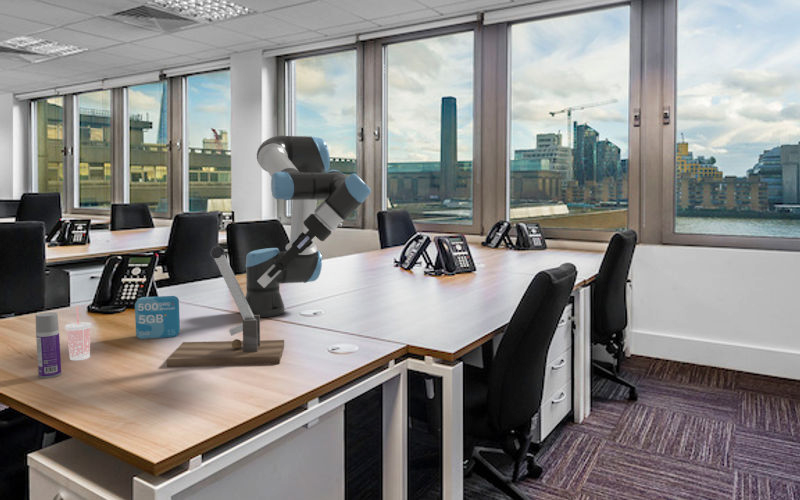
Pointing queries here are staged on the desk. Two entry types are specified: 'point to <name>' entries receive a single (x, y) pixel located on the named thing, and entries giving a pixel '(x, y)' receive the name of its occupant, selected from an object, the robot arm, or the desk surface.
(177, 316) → the data package
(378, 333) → the desk surface
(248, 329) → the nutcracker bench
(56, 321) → the container
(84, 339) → the beverage cup
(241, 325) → the lever
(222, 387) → the desk surface
